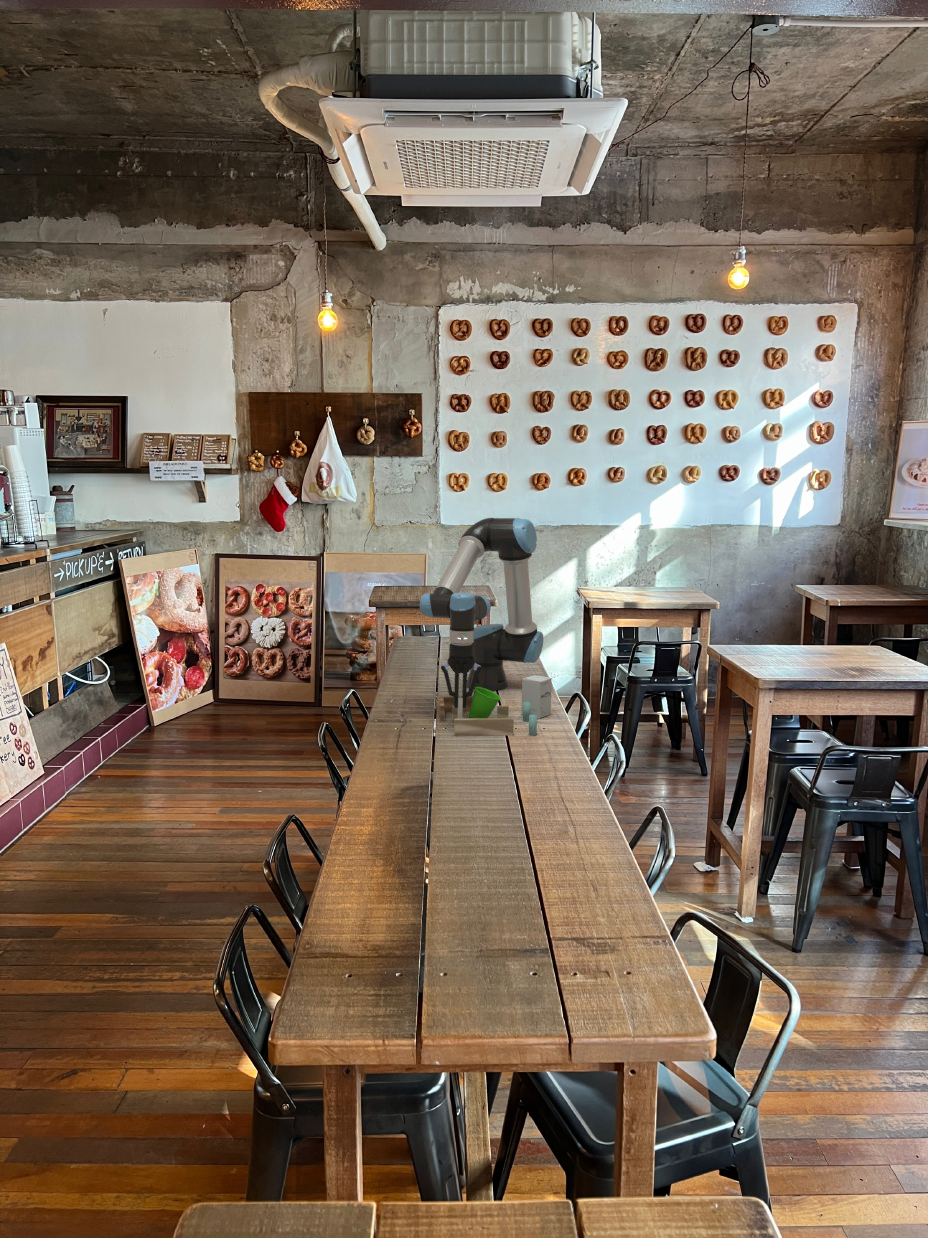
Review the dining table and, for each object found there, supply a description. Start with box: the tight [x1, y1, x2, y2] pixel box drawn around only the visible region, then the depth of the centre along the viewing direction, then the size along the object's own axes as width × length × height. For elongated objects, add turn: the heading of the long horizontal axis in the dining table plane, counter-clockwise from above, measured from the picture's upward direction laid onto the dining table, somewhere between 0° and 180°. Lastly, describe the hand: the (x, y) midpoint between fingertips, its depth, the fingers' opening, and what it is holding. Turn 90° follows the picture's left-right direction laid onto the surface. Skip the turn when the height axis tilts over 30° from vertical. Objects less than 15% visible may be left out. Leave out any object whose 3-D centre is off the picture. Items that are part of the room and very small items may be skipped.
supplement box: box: [520, 674, 552, 720], centre depth 287 cm, size 7×7×13 cm
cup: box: [467, 687, 502, 719], centre depth 272 cm, size 9×9×11 cm
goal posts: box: [522, 702, 538, 737], centre depth 273 cm, size 17×2×6 cm, turn 3°
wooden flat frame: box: [438, 695, 515, 737], centre depth 279 cm, size 28×22×5 cm
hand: (459, 717), depth 272 cm, fingers closed
